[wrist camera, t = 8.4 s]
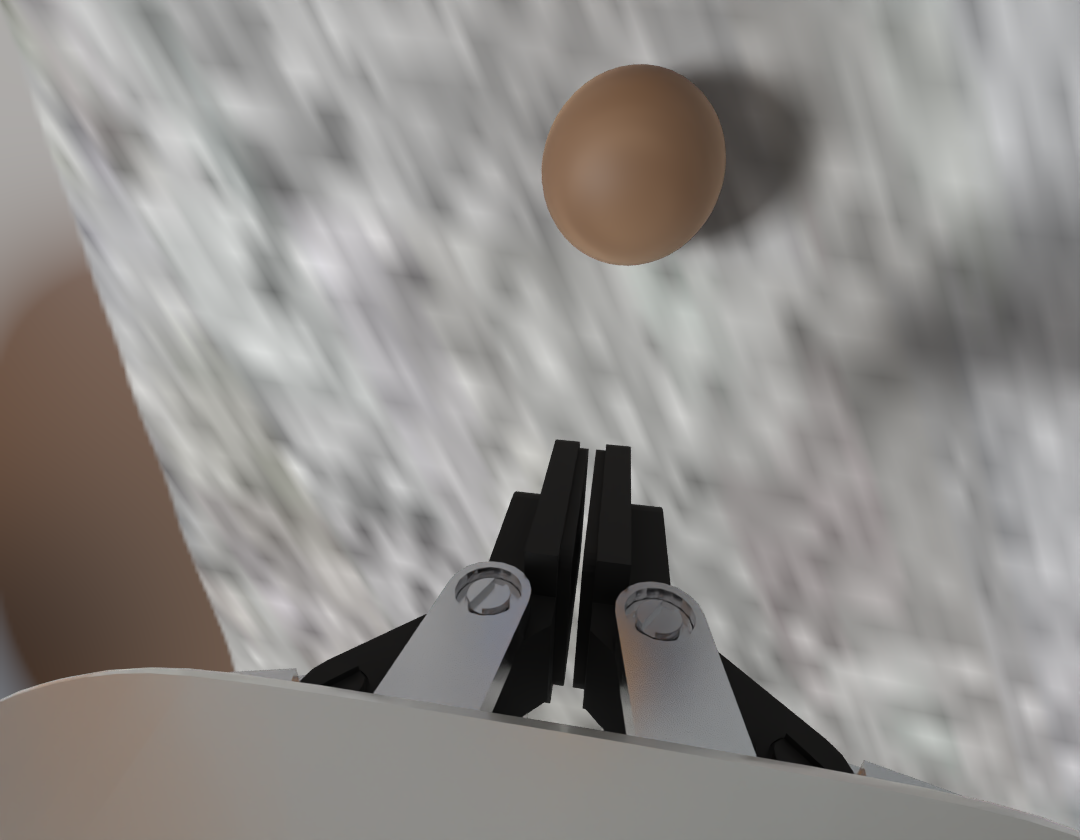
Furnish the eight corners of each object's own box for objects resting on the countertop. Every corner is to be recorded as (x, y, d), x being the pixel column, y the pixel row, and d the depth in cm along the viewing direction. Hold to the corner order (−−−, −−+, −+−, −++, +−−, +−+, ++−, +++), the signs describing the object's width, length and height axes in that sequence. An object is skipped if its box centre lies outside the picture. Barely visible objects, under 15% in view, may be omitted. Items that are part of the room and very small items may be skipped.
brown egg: (631, 30, 11) (636, 0, 15) (488, 212, 15) (522, 150, 19) (781, 202, 13) (752, 138, 17) (625, 329, 17) (630, 251, 21)
